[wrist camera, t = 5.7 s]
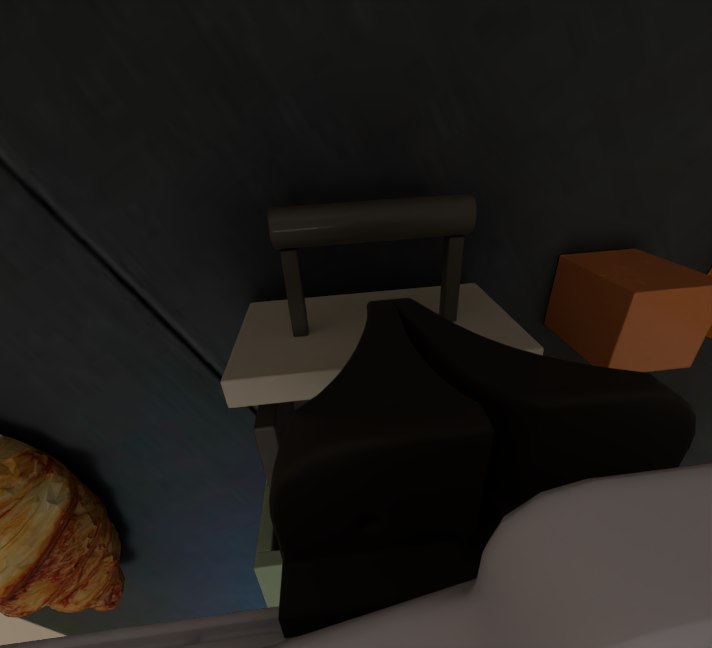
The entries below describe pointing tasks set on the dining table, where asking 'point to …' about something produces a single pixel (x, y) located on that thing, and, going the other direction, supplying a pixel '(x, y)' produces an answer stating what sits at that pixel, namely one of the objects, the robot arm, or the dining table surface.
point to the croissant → (53, 537)
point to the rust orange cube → (630, 309)
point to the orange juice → (711, 331)
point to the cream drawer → (346, 305)
